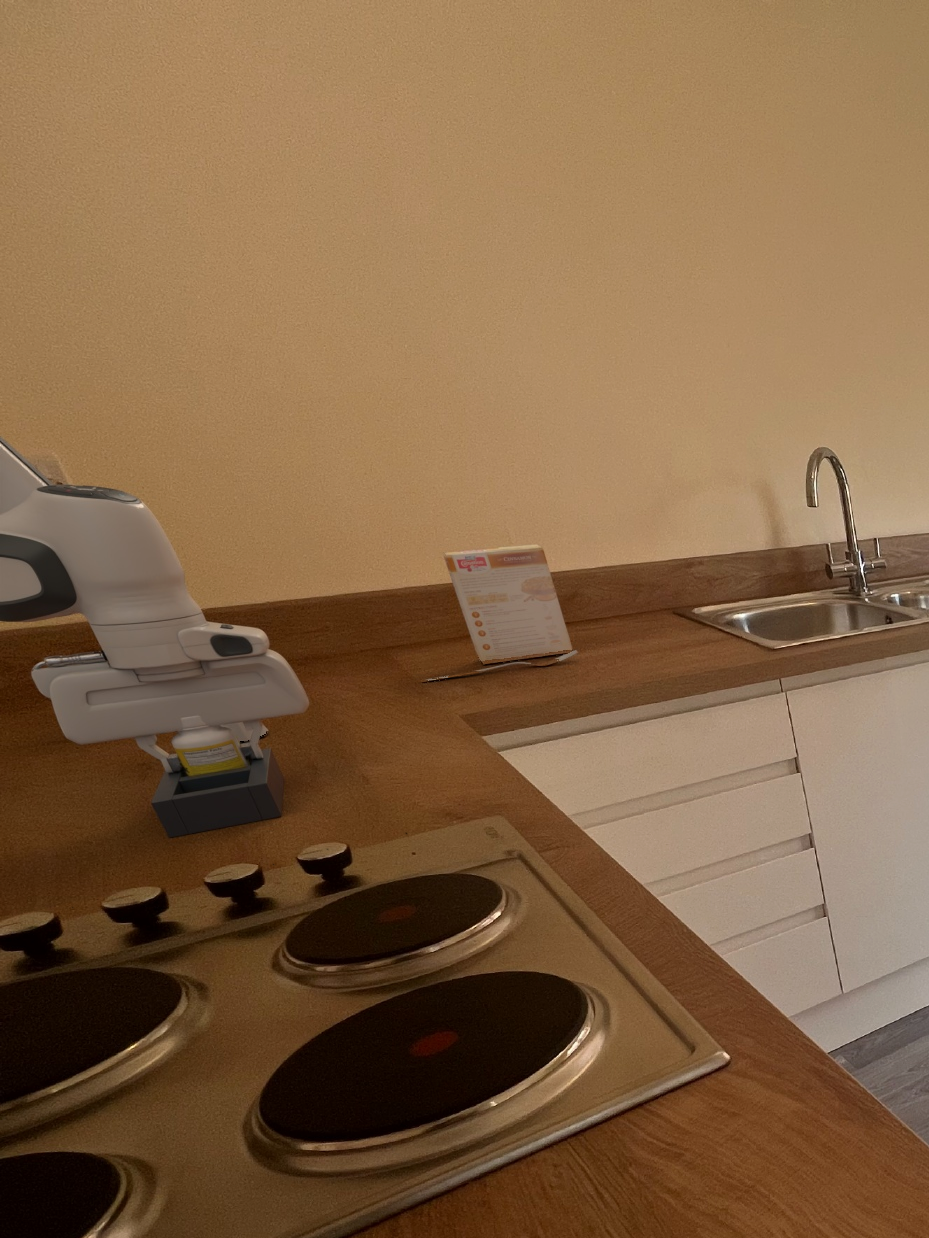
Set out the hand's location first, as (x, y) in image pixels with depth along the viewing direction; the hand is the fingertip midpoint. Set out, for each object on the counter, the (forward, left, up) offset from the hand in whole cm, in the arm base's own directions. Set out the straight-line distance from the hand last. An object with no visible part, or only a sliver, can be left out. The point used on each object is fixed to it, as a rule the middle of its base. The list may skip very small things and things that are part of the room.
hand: (217, 764), depth 110 cm
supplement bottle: (0, 0, -4) cm, 4 cm away
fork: (+34, +55, -4) cm, 65 cm away
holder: (0, -4, -4) cm, 6 cm away
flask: (-1, +32, -4) cm, 32 cm away
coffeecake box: (+39, +66, -4) cm, 76 cm away
